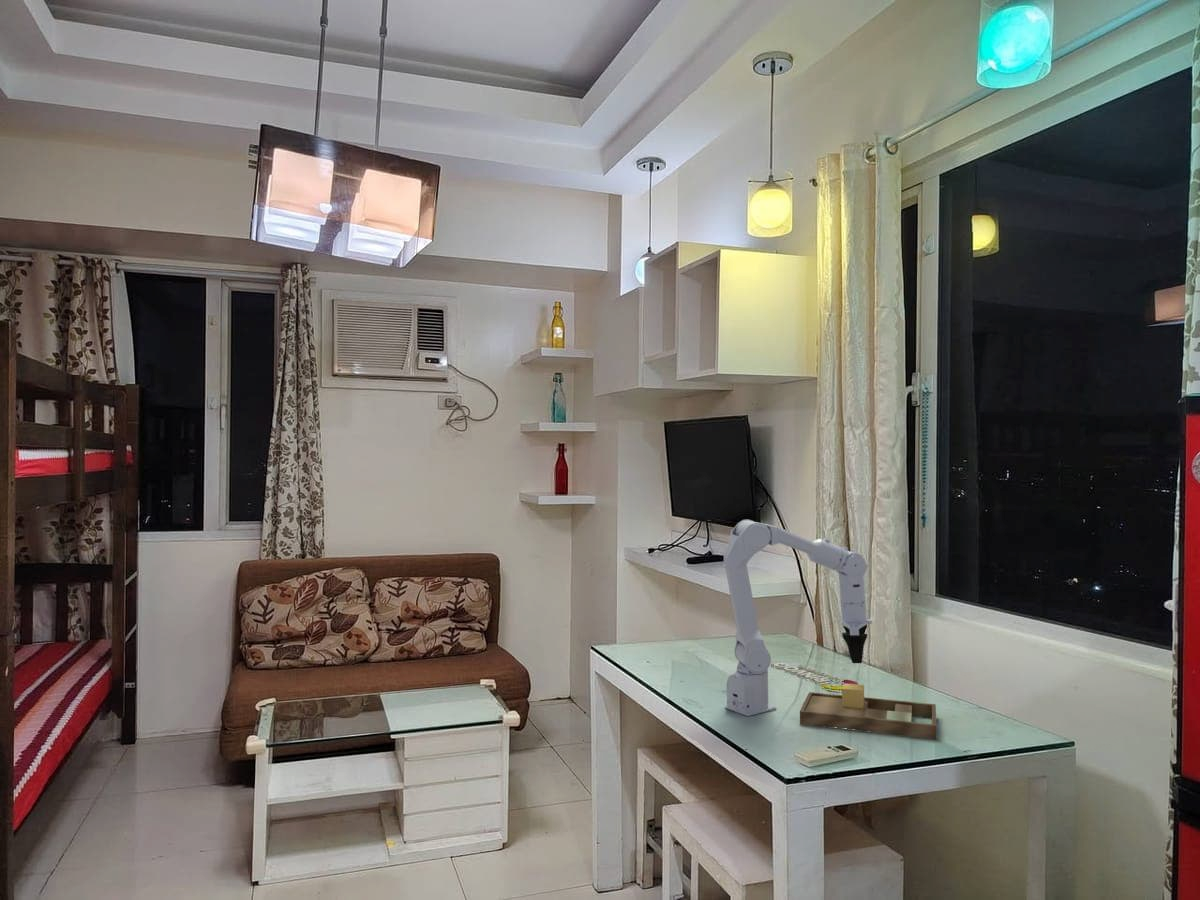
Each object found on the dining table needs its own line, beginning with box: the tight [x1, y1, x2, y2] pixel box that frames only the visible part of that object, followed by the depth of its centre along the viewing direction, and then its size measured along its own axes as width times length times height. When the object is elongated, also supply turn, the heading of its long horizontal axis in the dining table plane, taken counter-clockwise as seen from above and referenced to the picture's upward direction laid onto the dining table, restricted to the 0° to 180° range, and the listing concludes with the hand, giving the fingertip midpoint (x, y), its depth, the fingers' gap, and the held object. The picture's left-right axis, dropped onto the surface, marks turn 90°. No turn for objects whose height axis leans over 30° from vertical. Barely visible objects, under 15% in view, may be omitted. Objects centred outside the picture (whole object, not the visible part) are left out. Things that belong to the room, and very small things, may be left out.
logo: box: [770, 662, 860, 691], centre depth 219 cm, size 29×1×10 cm
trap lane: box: [799, 691, 938, 740], centre depth 184 cm, size 28×16×3 cm, turn 68°
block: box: [841, 683, 865, 708], centre depth 188 cm, size 4×4×4 cm
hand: (857, 658), depth 196 cm, fingers open, 7 cm apart
